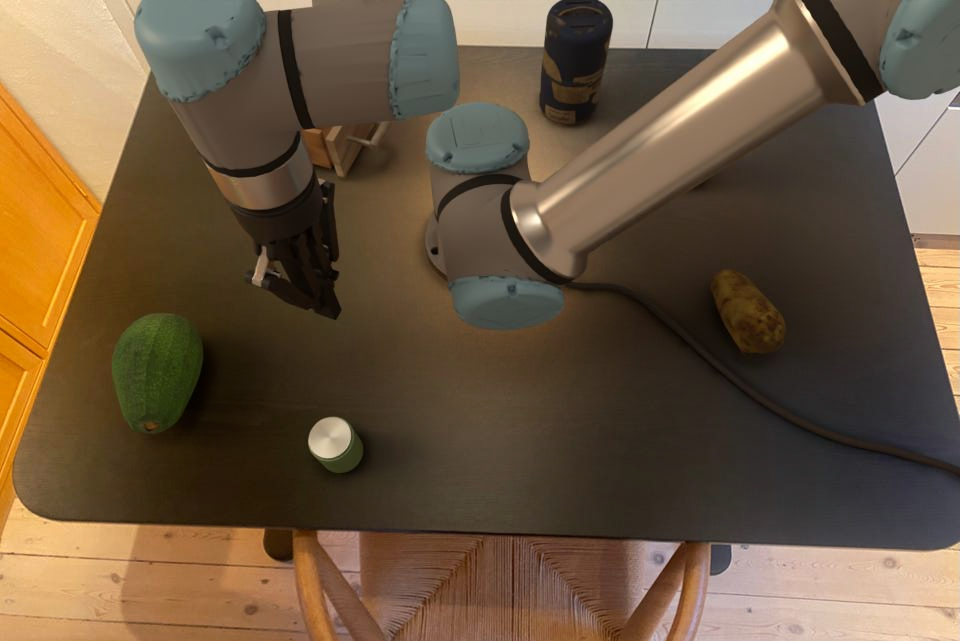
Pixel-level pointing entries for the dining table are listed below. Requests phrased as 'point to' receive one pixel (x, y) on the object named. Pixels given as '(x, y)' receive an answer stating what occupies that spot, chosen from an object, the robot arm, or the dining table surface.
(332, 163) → the drawer
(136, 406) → the fruit
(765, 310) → the potato
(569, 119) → the canister
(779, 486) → the dining table surface
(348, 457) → the can
